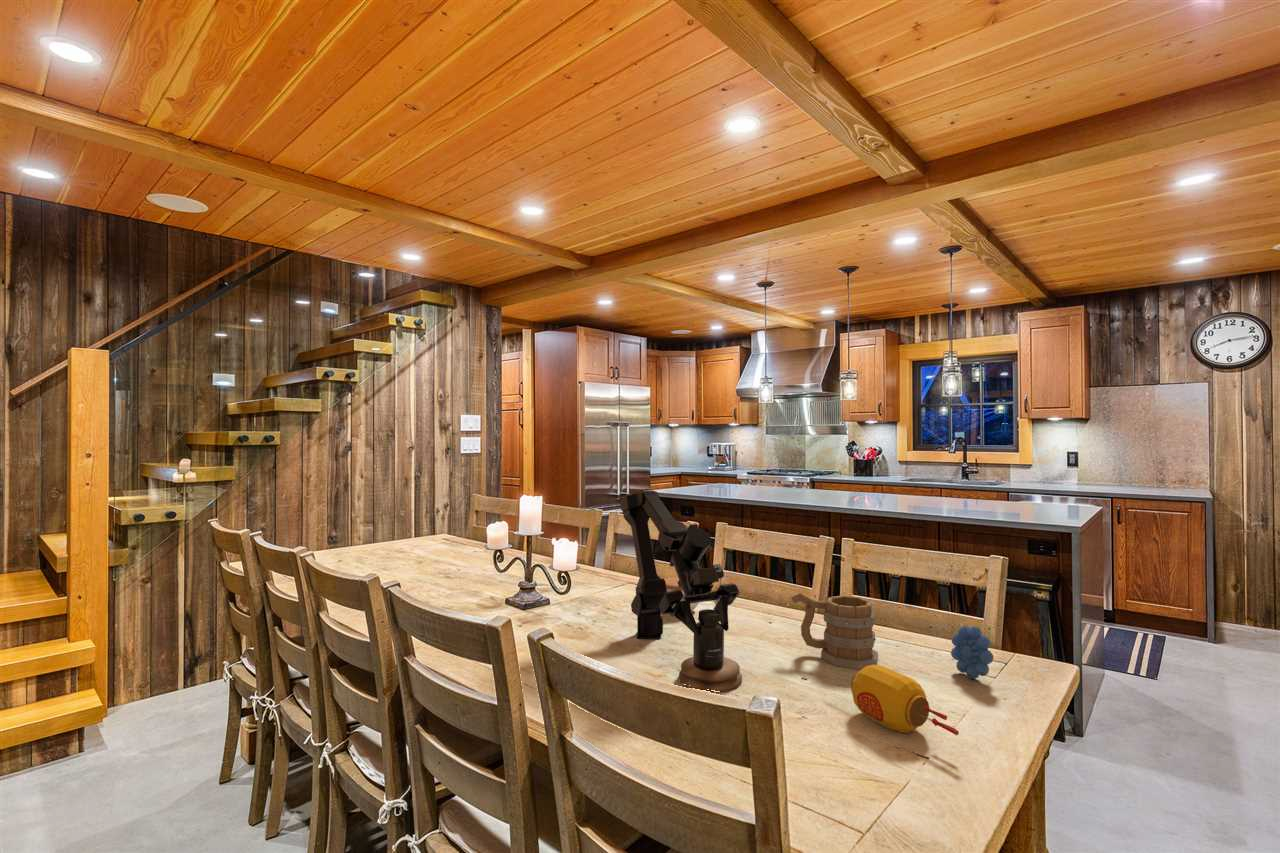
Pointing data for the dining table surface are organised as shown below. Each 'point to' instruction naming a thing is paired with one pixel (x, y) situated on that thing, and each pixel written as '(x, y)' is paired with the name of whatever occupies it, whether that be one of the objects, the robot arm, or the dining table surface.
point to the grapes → (971, 651)
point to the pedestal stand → (711, 676)
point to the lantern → (892, 699)
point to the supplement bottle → (709, 641)
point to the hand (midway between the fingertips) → (712, 632)
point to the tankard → (842, 630)
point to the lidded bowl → (677, 588)
